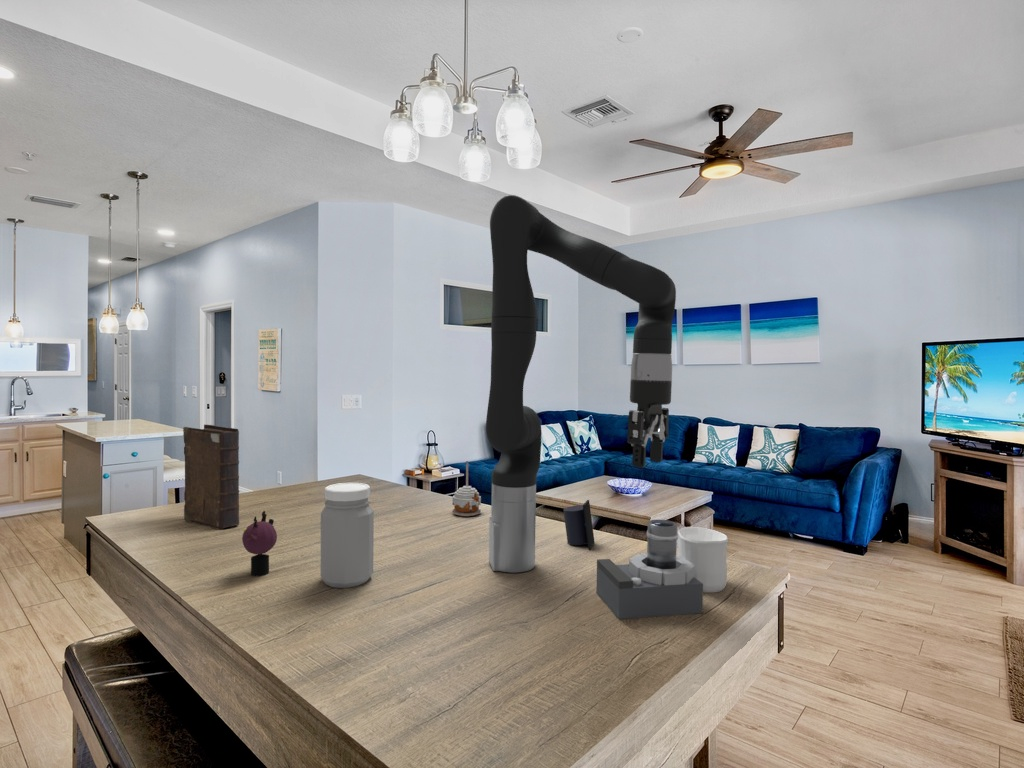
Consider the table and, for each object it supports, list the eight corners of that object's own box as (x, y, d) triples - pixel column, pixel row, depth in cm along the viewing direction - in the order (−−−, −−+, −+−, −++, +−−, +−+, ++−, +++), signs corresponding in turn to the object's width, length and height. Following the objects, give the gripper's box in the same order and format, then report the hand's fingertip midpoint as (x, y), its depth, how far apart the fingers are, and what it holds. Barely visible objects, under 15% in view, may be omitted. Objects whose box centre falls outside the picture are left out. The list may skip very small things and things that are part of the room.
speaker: (602, 543, 133) (598, 499, 133) (590, 550, 129) (585, 505, 129) (575, 540, 138) (571, 497, 138) (562, 546, 133) (558, 503, 133)
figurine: (273, 563, 117) (273, 505, 117) (289, 573, 111) (289, 513, 111) (232, 572, 111) (232, 512, 111) (246, 584, 106) (247, 520, 105)
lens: (653, 580, 97) (654, 527, 97) (640, 569, 102) (642, 519, 102) (682, 578, 98) (683, 526, 98) (668, 567, 103) (669, 518, 103)
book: (242, 526, 144) (242, 428, 143) (213, 532, 138) (213, 430, 137) (209, 515, 154) (209, 423, 153) (182, 521, 148) (181, 425, 147)
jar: (383, 574, 112) (383, 483, 111) (353, 592, 103) (354, 494, 102) (341, 568, 115) (341, 480, 114) (309, 585, 106) (309, 489, 105)
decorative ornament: (479, 518, 155) (480, 463, 155) (451, 517, 155) (451, 463, 155) (481, 511, 163) (482, 459, 163) (454, 510, 163) (455, 458, 163)
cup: (701, 597, 103) (703, 544, 102) (663, 579, 112) (664, 530, 111) (738, 588, 107) (740, 537, 107) (698, 571, 116) (699, 524, 116)
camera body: (618, 619, 93) (619, 576, 93) (596, 592, 104) (597, 555, 104) (703, 612, 96) (704, 572, 96) (673, 588, 107) (674, 551, 107)
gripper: (656, 379, 98) (652, 472, 99) (683, 378, 110) (680, 462, 110) (616, 377, 102) (613, 466, 103) (646, 377, 114) (643, 457, 115)
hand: (647, 464), depth 107 cm, fingers open, 8 cm apart
